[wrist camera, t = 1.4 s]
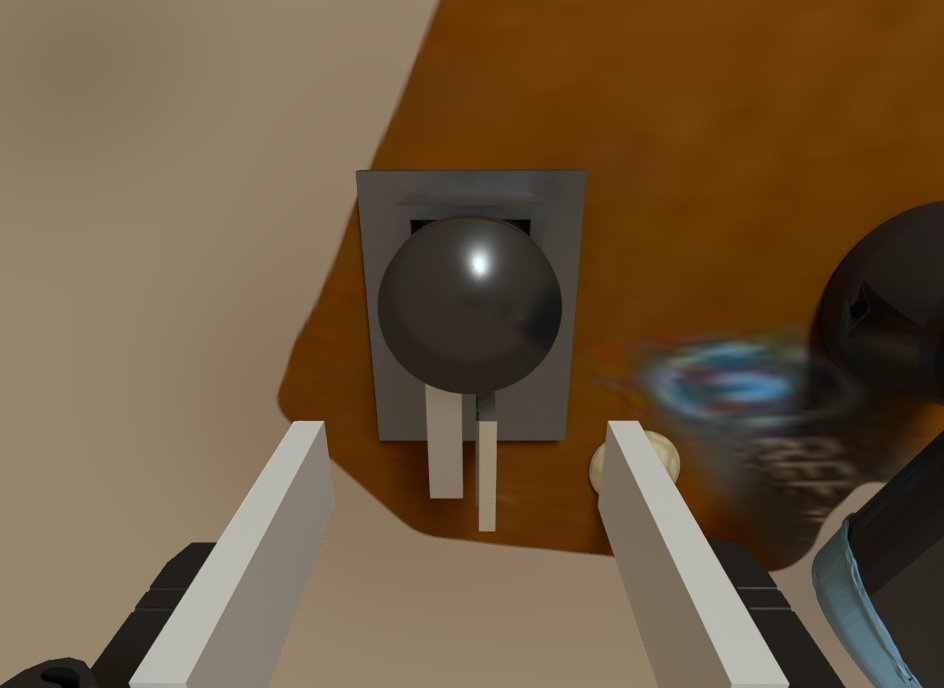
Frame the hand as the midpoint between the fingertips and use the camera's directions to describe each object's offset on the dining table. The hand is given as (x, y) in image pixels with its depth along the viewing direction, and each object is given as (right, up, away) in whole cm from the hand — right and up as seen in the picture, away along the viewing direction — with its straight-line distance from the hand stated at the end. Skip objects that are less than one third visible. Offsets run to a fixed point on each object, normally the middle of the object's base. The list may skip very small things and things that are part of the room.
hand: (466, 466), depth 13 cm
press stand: (0, +6, +27) cm, 28 cm away
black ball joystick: (0, +5, +21) cm, 22 cm away
